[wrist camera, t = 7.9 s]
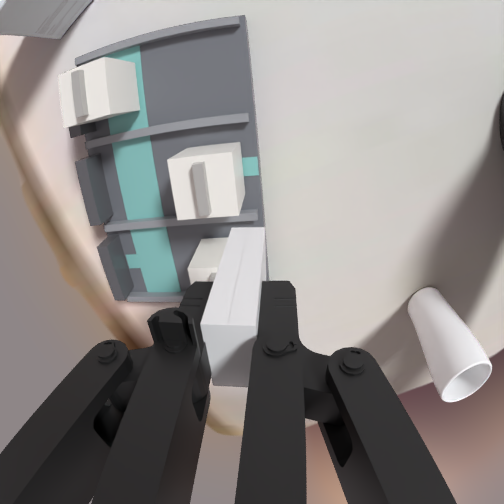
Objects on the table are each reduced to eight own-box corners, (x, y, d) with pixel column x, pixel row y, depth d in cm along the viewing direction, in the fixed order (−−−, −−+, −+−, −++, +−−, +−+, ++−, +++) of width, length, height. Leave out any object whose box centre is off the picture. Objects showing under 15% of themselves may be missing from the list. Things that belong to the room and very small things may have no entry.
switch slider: (249, 236, 31) (243, 271, 25) (253, 278, 33) (249, 318, 27) (201, 238, 31) (185, 273, 25) (209, 279, 34) (196, 318, 28)
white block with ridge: (240, 141, 27) (230, 153, 21) (245, 193, 29) (237, 219, 23) (187, 147, 27) (163, 161, 21) (194, 197, 29) (174, 224, 23)
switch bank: (246, 20, 23) (241, 5, 19) (269, 287, 37) (268, 313, 32) (85, 58, 25) (60, 56, 20) (133, 290, 38) (119, 313, 34)
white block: (134, 62, 23) (99, 56, 17) (140, 110, 25) (105, 115, 19) (92, 76, 24) (52, 75, 18) (97, 120, 26) (58, 129, 20)
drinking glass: (392, 315, 38) (428, 402, 25) (417, 275, 35) (469, 358, 21) (427, 324, 38) (465, 403, 25) (451, 287, 35) (502, 363, 22)
